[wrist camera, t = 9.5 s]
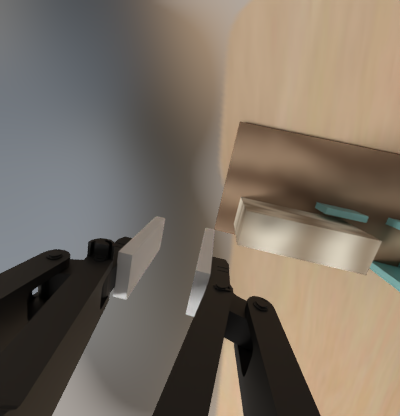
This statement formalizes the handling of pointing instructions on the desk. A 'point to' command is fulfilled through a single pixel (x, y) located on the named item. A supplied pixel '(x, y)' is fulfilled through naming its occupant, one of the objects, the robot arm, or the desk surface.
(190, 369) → the robot arm
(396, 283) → the end cap
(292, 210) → the pale wood block
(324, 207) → the end cap
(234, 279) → the desk surface
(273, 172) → the board
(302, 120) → the desk surface
